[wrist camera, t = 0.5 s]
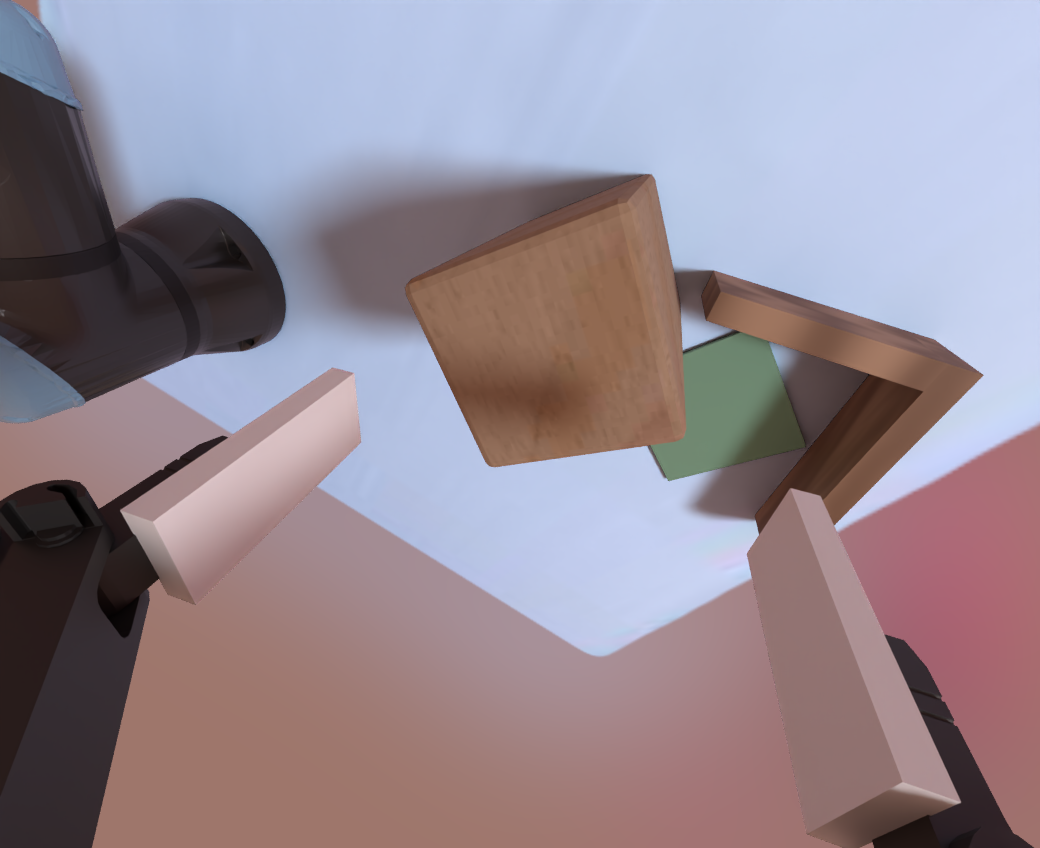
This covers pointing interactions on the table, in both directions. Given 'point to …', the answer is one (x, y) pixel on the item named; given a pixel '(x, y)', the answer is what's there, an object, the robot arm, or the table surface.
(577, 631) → the table surface
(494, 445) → the wooden block
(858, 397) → the wooden corner bracket
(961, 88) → the table surface
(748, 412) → the pad
